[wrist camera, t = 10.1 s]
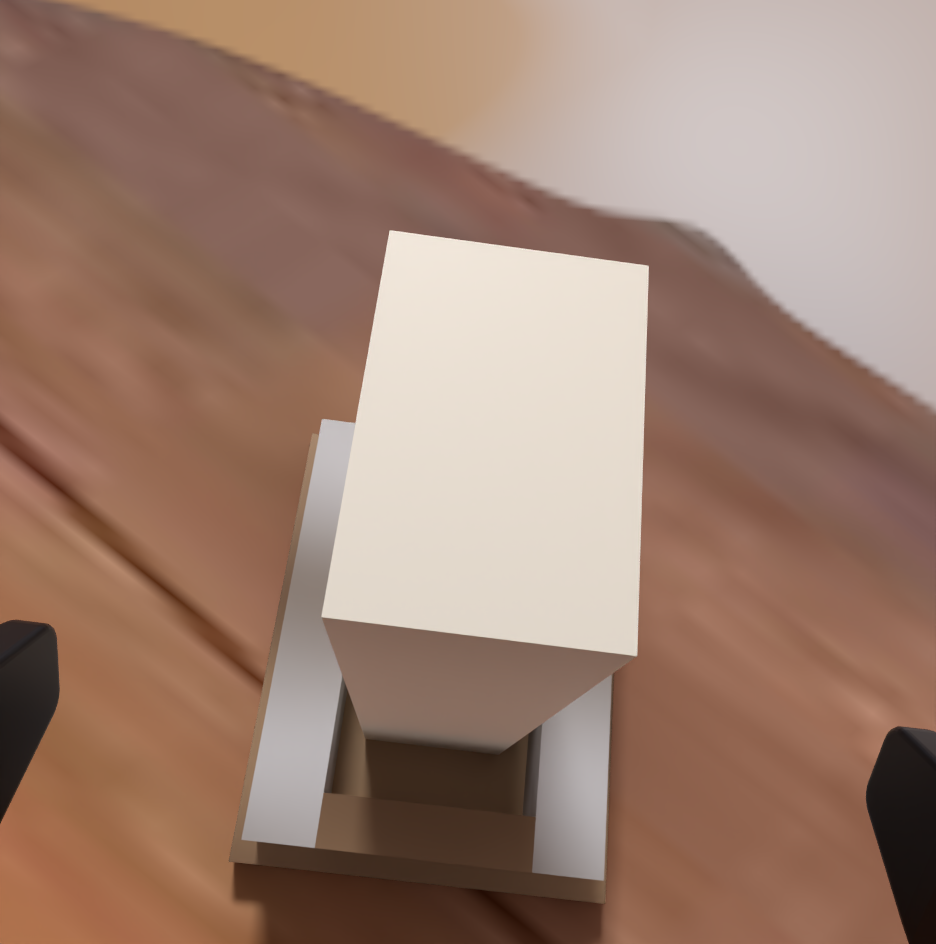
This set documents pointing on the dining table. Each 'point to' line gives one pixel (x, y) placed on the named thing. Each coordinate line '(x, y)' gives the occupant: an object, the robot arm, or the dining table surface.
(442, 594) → the tall cream box
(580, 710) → the track
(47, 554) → the dining table surface
